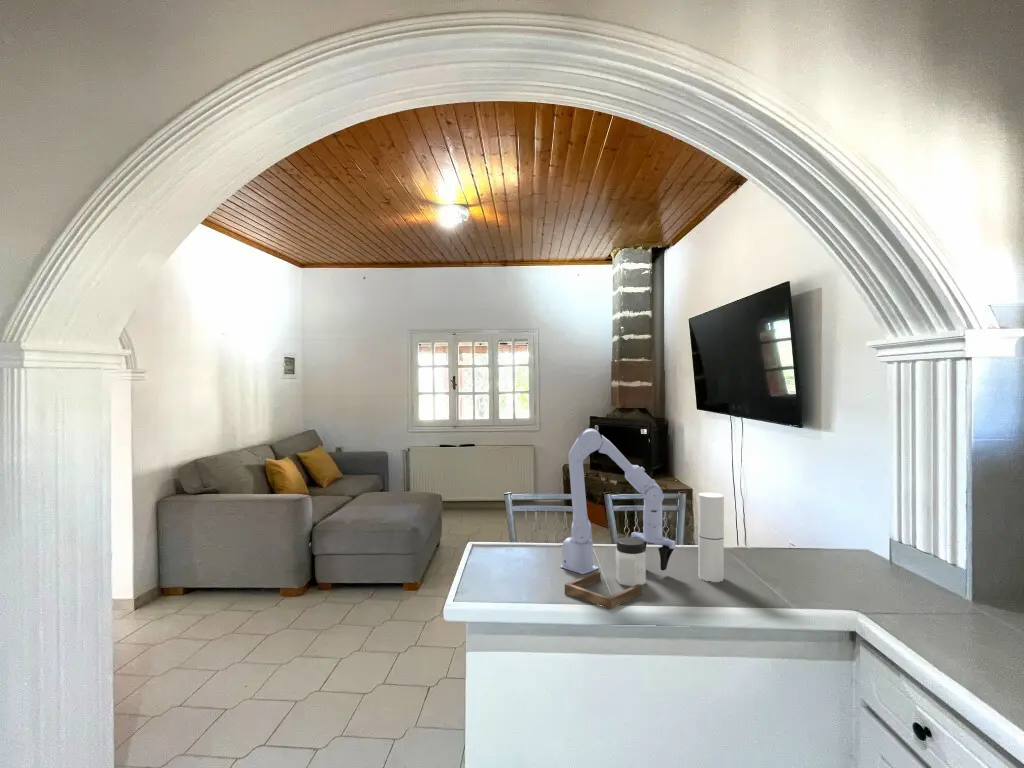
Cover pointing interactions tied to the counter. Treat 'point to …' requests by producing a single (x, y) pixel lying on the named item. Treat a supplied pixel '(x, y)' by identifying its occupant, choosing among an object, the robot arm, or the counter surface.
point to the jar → (630, 561)
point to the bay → (578, 591)
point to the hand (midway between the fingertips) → (652, 566)
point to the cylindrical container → (711, 537)
